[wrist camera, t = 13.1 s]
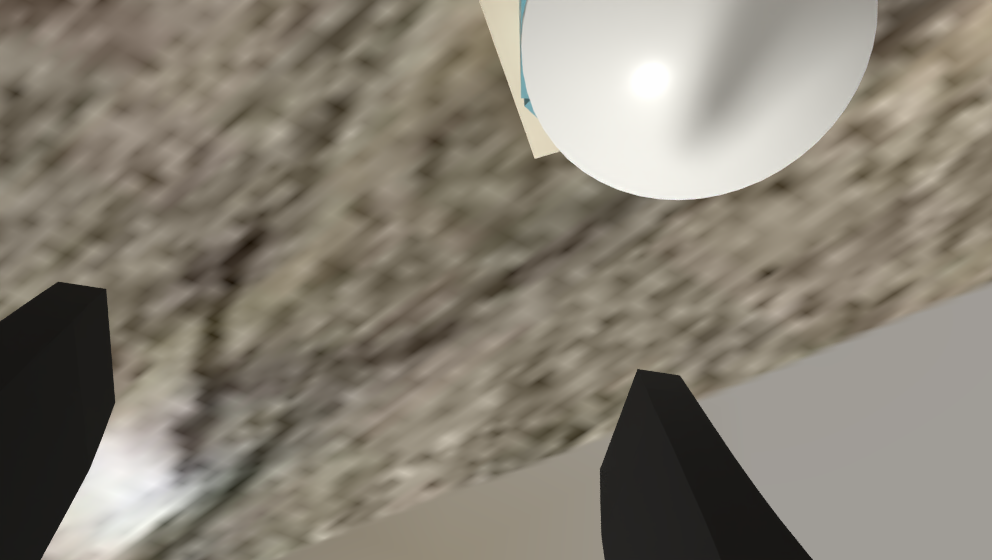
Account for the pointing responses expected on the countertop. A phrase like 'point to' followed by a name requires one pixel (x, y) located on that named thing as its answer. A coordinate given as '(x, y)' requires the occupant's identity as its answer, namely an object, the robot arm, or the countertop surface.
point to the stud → (514, 66)
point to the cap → (690, 85)
